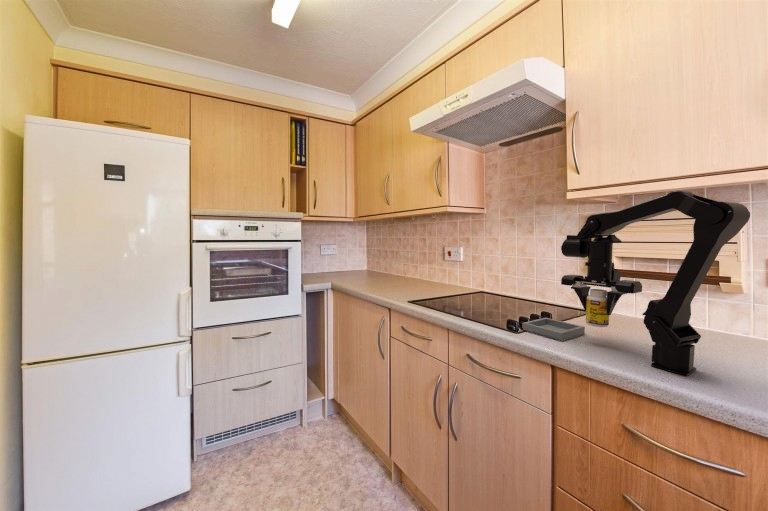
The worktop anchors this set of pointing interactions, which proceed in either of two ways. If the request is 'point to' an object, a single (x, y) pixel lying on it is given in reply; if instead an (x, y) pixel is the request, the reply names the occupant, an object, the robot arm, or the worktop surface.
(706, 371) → the worktop surface
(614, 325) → the worktop surface
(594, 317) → the supplement bottle
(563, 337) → the tray
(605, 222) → the robot arm
